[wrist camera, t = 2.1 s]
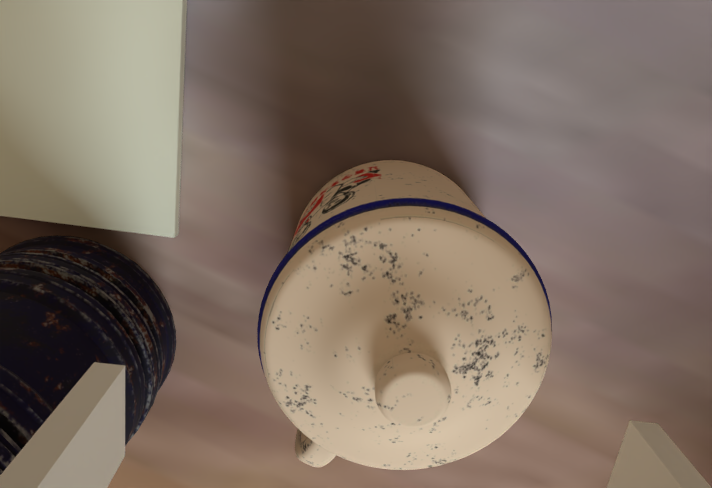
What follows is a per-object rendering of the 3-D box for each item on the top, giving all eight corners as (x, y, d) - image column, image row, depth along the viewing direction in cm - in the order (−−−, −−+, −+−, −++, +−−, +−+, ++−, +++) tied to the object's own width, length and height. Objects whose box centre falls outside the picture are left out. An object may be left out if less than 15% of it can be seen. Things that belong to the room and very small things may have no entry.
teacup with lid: (347, 114, 23) (339, 161, 12) (528, 213, 25) (668, 335, 14) (230, 340, 27) (140, 538, 16) (395, 416, 28) (421, 648, 17)
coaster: (191, -124, 21) (186, -129, 20) (178, 233, 25) (174, 237, 24) (-198, -183, 20) (-214, -191, 19) (-142, 193, 24) (-154, 196, 24)
